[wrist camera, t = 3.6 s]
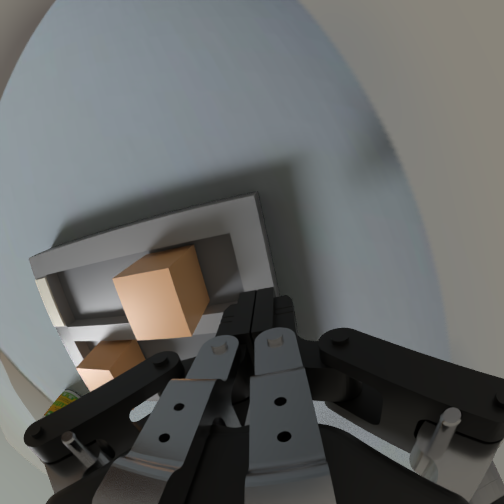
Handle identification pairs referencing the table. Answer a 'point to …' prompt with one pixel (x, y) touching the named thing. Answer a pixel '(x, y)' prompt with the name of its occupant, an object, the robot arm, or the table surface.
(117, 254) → the tray
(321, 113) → the table surface
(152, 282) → the tan square block
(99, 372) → the orange rectangular block
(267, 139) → the table surface
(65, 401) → the supplement bottle
